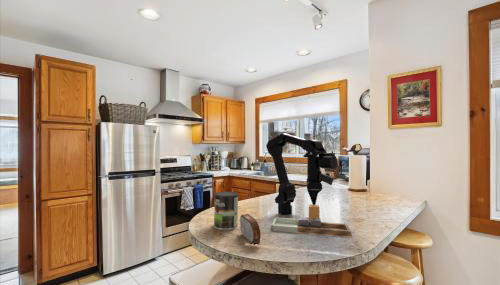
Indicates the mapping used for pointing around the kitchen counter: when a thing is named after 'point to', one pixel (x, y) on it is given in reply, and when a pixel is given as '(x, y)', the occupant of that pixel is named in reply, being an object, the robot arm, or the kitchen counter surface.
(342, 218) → the kitchen counter surface
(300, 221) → the chip
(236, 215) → the coffee can
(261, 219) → the kitchen counter surface
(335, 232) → the channel board
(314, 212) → the rake block
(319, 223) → the chip
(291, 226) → the tray
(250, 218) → the grey and brown slab
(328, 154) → the robot arm
